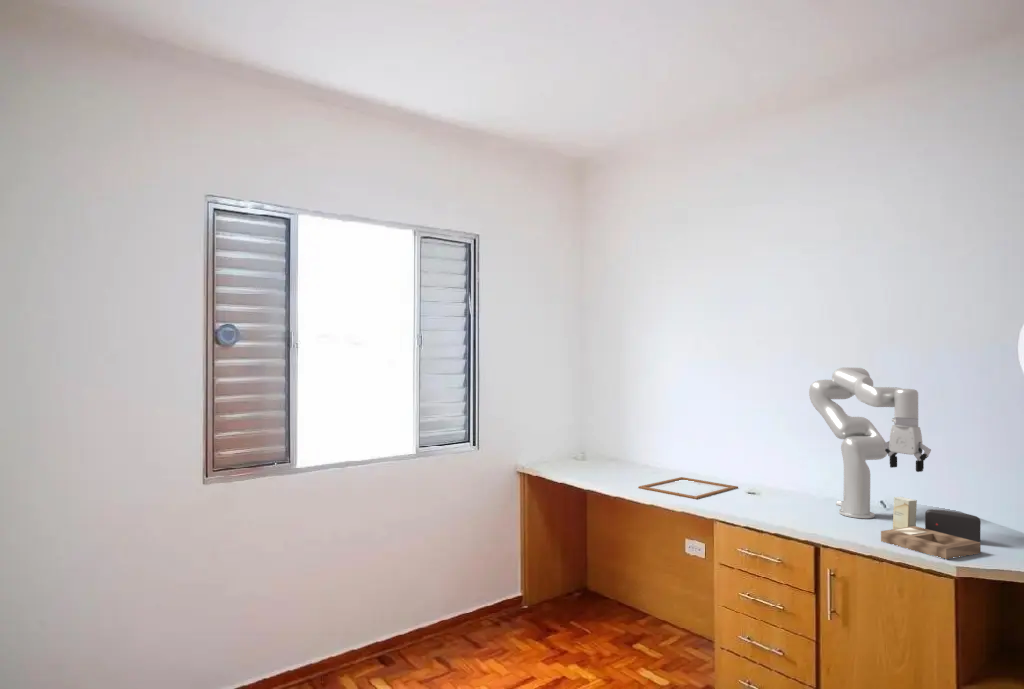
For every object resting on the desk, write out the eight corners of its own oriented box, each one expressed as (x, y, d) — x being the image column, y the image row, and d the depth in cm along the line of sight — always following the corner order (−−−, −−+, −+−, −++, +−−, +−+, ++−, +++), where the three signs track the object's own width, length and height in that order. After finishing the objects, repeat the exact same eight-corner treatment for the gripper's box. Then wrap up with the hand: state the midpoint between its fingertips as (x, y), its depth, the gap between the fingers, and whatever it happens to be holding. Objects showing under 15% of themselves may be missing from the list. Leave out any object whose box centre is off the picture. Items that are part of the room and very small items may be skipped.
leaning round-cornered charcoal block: (981, 542, 227) (982, 515, 227) (979, 545, 224) (980, 517, 224) (927, 533, 238) (927, 507, 238) (924, 535, 235) (924, 509, 235)
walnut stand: (880, 541, 226) (881, 530, 226) (914, 535, 234) (914, 525, 234) (946, 559, 206) (946, 547, 206) (980, 553, 214) (980, 541, 214)
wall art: (638, 486, 310) (681, 476, 336) (638, 489, 310) (681, 479, 336) (696, 497, 288) (738, 486, 314) (696, 500, 288) (738, 489, 314)
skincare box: (892, 530, 241) (892, 497, 241) (900, 529, 243) (901, 496, 243) (908, 534, 235) (908, 500, 236) (916, 533, 237) (917, 499, 237)
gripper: (877, 420, 246) (877, 466, 246) (923, 425, 230) (923, 473, 230) (890, 420, 249) (890, 465, 249) (936, 424, 234) (936, 472, 233)
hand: (906, 469), depth 239 cm, fingers open, 9 cm apart
